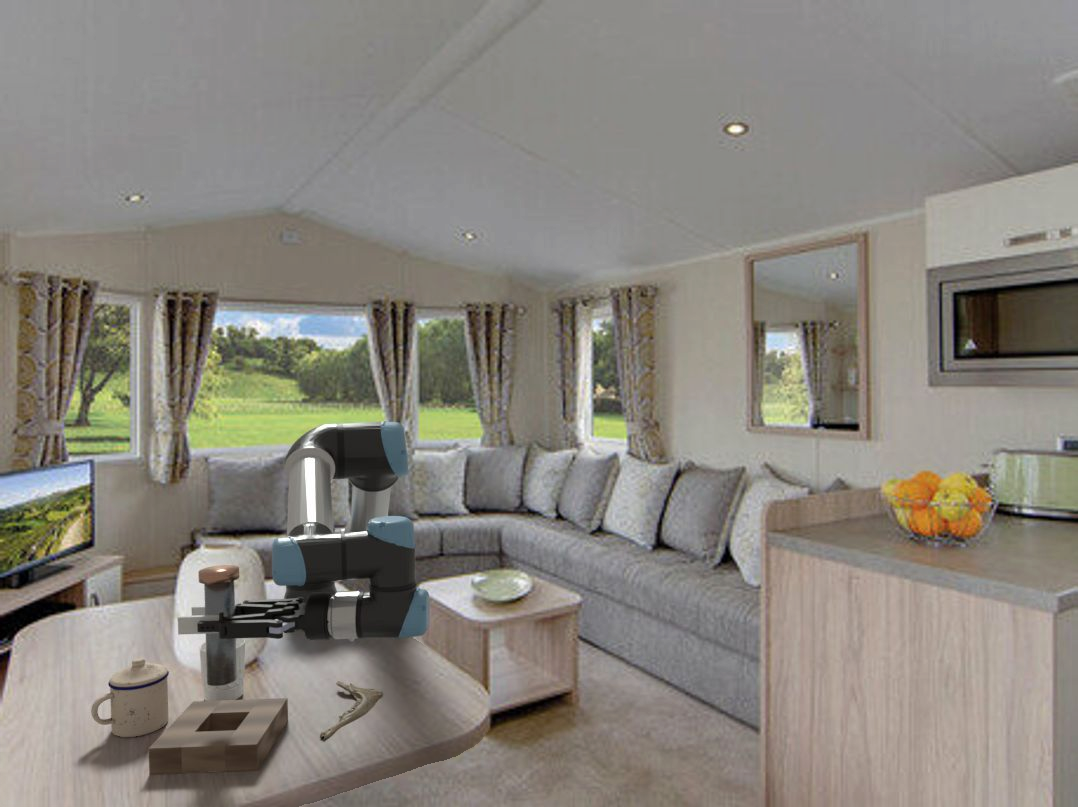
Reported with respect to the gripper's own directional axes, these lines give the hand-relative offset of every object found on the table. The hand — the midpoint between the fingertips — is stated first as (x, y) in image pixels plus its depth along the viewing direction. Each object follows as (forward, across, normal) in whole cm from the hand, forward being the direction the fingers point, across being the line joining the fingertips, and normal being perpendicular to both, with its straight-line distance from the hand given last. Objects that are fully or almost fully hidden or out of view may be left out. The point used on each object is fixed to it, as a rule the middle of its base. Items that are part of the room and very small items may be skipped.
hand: (186, 619), depth 116 cm
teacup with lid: (+13, +7, -21) cm, 26 cm away
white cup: (+2, +19, -21) cm, 29 cm away
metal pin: (-5, 0, -10) cm, 11 cm away
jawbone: (-21, +12, -22) cm, 32 cm away
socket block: (-5, 0, -21) cm, 22 cm away
